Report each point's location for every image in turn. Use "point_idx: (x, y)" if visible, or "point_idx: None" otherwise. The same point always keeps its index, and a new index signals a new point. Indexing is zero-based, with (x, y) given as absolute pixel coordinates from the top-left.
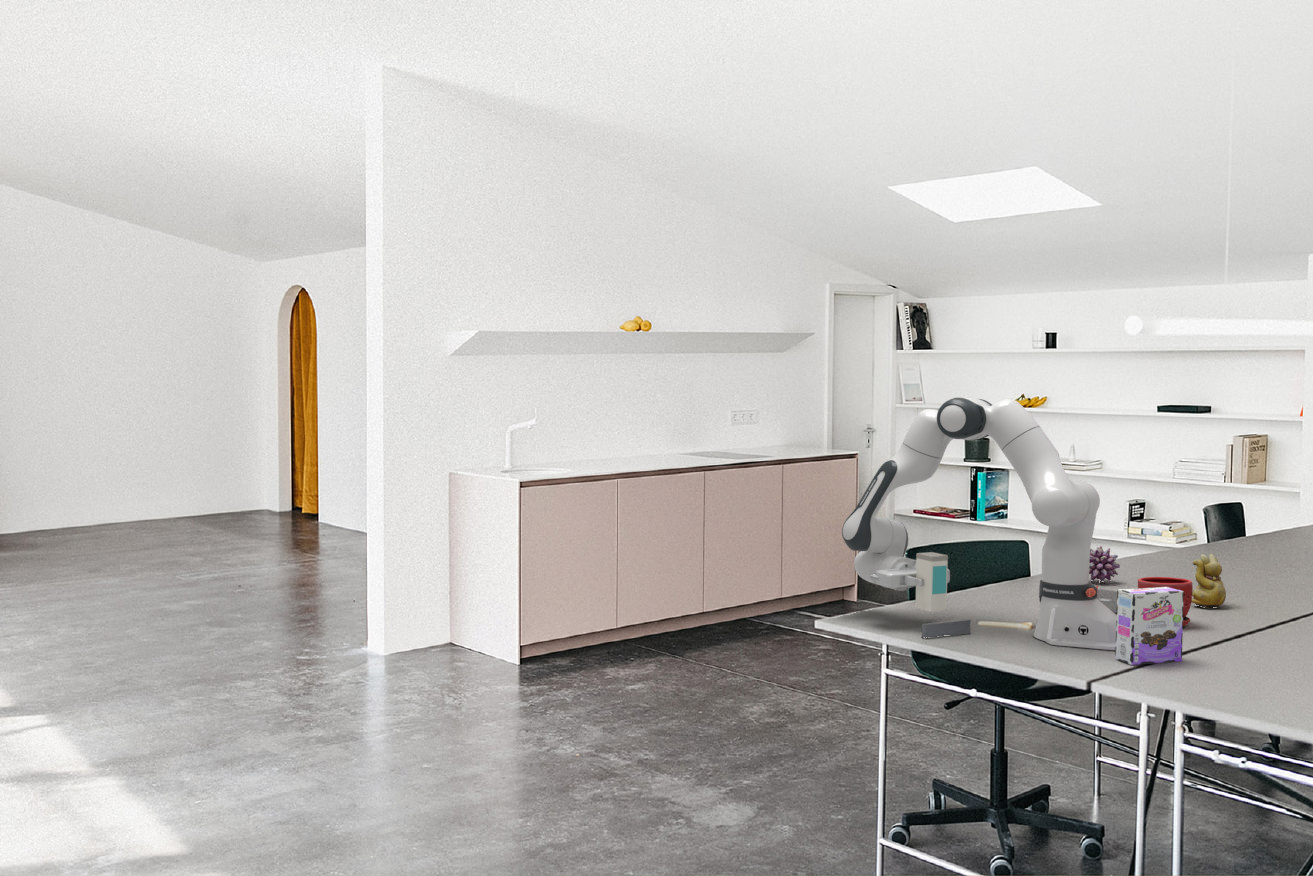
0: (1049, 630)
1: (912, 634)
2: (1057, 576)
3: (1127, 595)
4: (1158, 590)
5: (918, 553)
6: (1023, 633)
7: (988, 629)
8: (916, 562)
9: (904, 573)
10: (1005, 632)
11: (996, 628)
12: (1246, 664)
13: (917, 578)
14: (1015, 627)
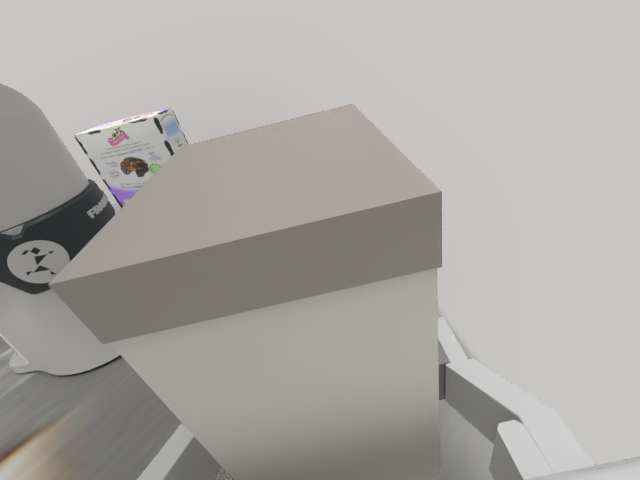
0: None
1: (481, 457)
2: (76, 163)
3: (168, 115)
4: (124, 118)
5: (404, 182)
6: (123, 379)
7: (144, 462)
8: (437, 319)
9: (622, 472)
10: (147, 402)
11: (106, 471)
12: (112, 205)
13: (449, 349)
14: (44, 468)
